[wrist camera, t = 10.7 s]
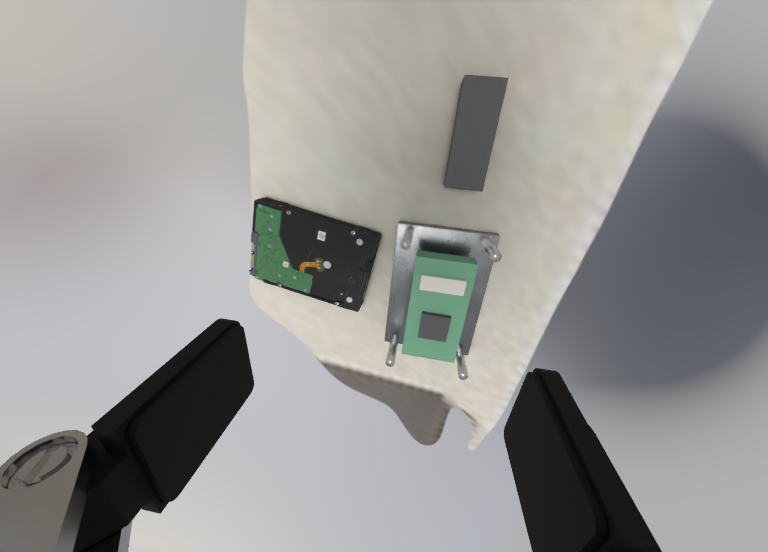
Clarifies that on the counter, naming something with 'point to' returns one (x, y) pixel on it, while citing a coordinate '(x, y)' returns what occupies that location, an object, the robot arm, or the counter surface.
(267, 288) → the counter surface
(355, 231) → the disk drive
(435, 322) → the board
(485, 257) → the chassis
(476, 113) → the block
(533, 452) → the robot arm
